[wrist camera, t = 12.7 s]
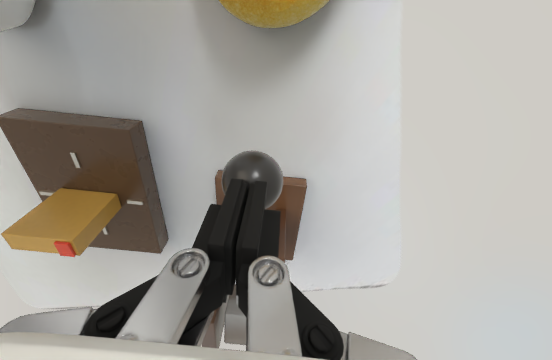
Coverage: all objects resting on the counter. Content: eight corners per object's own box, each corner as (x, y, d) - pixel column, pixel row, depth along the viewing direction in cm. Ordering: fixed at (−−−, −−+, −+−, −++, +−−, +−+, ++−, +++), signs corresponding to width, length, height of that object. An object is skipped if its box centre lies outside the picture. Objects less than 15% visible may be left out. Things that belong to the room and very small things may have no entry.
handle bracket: (218, 169, 23) (162, 291, 13) (306, 178, 23) (318, 306, 13) (221, 244, 28) (185, 369, 18) (292, 251, 28) (293, 379, 18)
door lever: (229, 140, 14) (214, 159, 11) (286, 146, 14) (286, 166, 11) (225, 306, 19) (215, 348, 16) (267, 310, 19) (264, 353, 16)
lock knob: (67, 201, 23) (8, 251, 18) (60, 187, 22) (-4, 236, 17) (122, 207, 23) (77, 258, 18) (117, 193, 22) (69, 243, 17)
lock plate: (18, 107, 20) (-9, 117, 18) (142, 120, 20) (127, 131, 18) (79, 230, 28) (65, 245, 26) (168, 239, 28) (160, 255, 26)
